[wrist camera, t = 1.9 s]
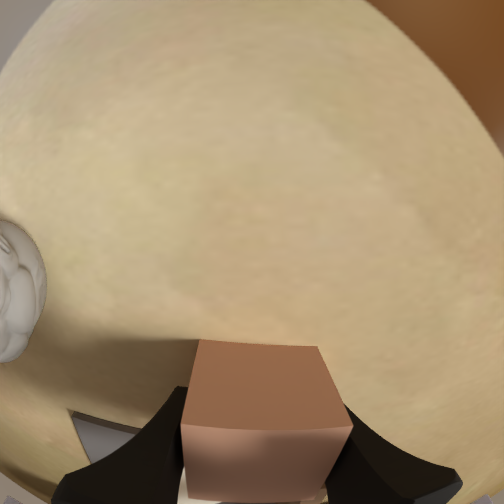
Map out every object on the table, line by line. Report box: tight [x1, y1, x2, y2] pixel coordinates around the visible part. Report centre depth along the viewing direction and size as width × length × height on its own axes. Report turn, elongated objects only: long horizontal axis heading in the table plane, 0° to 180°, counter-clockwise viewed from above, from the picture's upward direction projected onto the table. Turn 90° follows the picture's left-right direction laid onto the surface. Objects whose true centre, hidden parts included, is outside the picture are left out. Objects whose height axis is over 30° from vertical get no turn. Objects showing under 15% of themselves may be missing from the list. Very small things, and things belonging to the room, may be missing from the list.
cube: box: [181, 339, 353, 503], centre depth 10 cm, size 5×5×5 cm
